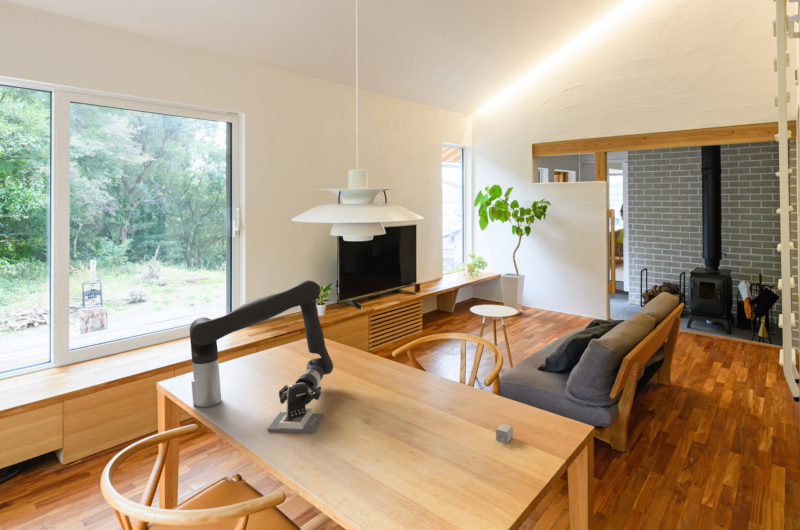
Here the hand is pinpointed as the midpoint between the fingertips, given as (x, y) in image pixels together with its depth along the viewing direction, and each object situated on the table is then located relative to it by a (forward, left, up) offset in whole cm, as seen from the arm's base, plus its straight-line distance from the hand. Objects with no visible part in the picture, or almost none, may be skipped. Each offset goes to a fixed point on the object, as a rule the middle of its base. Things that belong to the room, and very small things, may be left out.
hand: (293, 401), depth 154 cm
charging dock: (0, +2, -9) cm, 9 cm away
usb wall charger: (+70, -4, -9) cm, 71 cm away
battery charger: (0, +2, -6) cm, 7 cm away
